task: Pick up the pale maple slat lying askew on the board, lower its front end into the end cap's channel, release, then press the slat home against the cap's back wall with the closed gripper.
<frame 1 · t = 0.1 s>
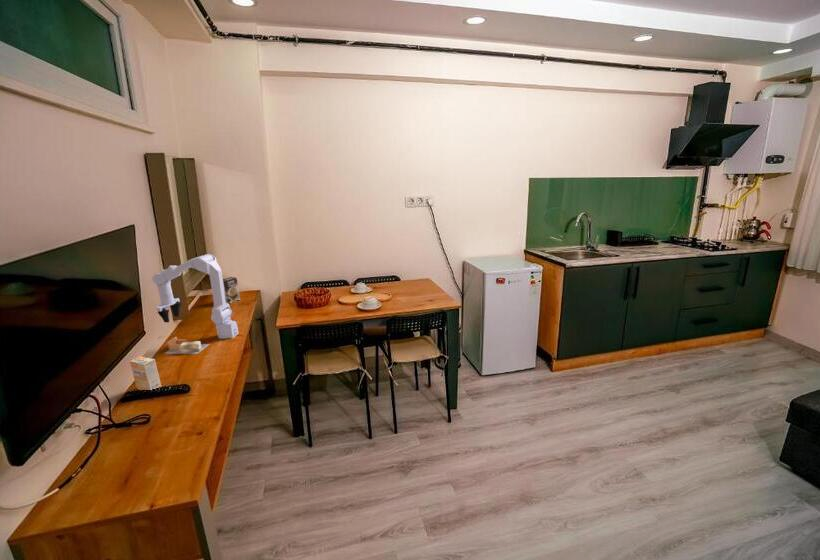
hand: (171, 319, 196), 10 cm above the table, fingers open, 7 cm apart
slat: (191, 350, 181), point 1 cm above the table, touching board
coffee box: (231, 302, 250), on the table
supplement box: (149, 389, 151), on the table
board: (187, 350, 183), on the table
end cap: (178, 347, 184), resting on board
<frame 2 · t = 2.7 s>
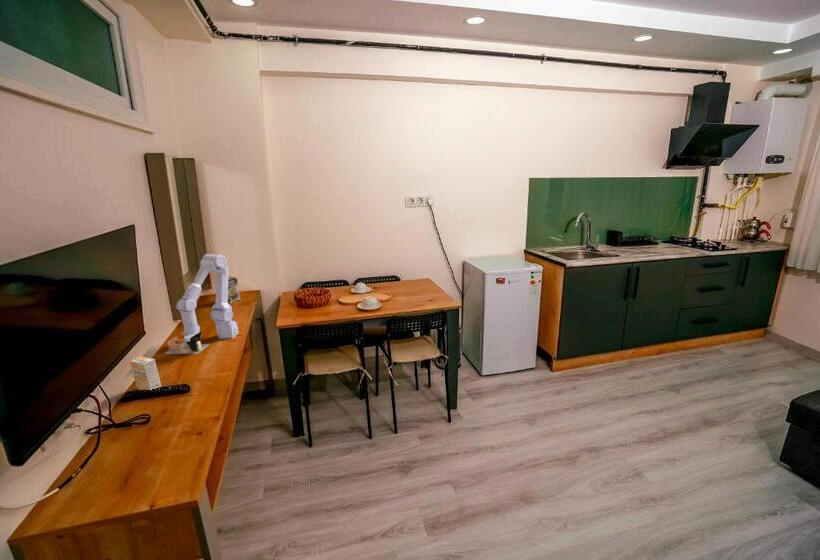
hand: (195, 348, 181), 2 cm above the table, fingers closed on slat, 3 cm apart
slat: (191, 350, 181), point 1 cm above the table, touching board, gripper
everything else where it was.
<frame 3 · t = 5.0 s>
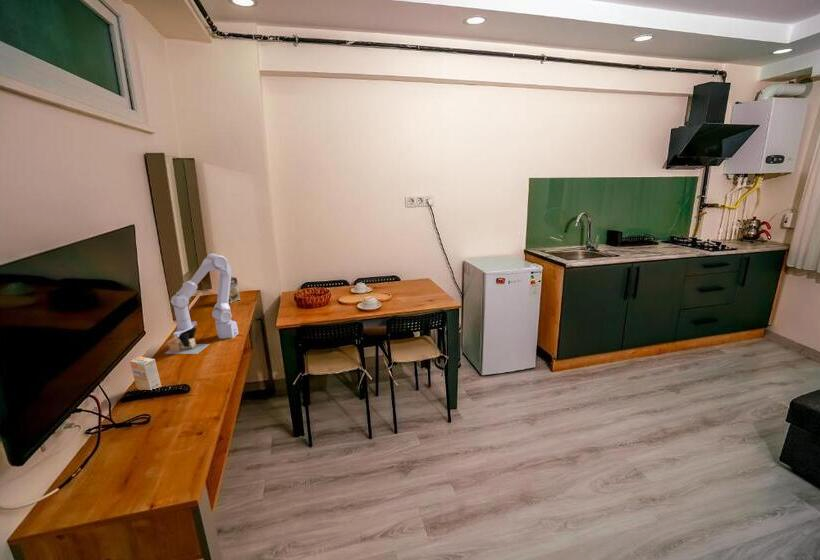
hand: (189, 344, 183), 3 cm above the table, fingers closed on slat, 3 cm apart
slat: (186, 347, 184), point 1 cm above the table, touching board, gripper
everything else where it was.
when the fingers open (2 cm above the table, at t = 5.9 s): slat stays where it is, resting on board.
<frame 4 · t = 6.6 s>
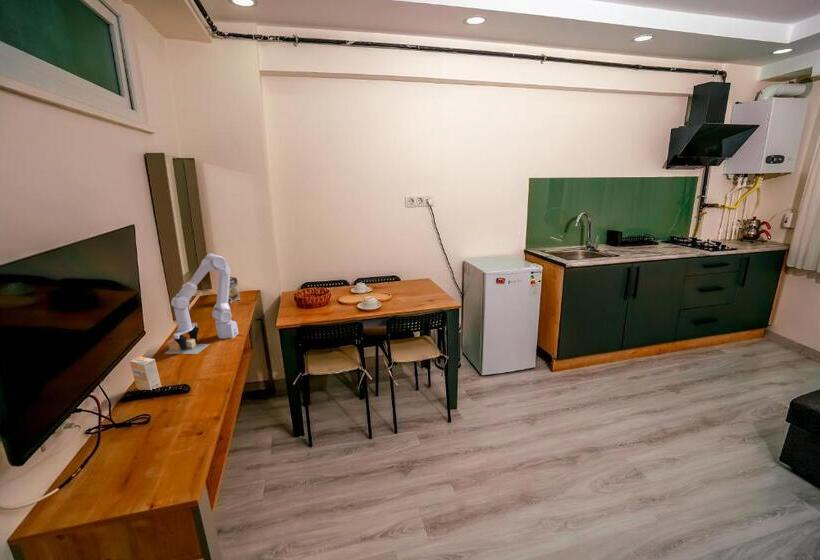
hand: (189, 345, 184), 2 cm above the table, fingers open, 7 cm apart
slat: (186, 347, 184), point 1 cm above the table, touching board
everything else where it was.
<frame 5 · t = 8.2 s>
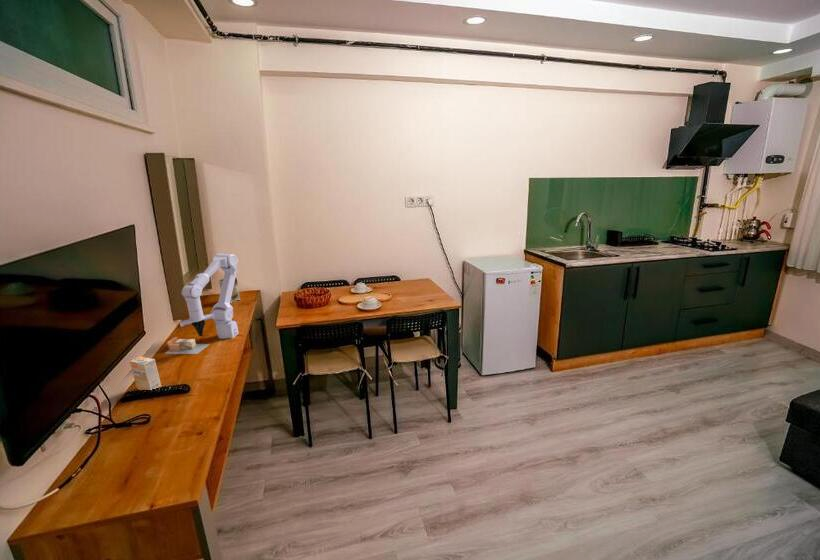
hand: (200, 335, 181), 7 cm above the table, fingers closed
nothing on the table moved.
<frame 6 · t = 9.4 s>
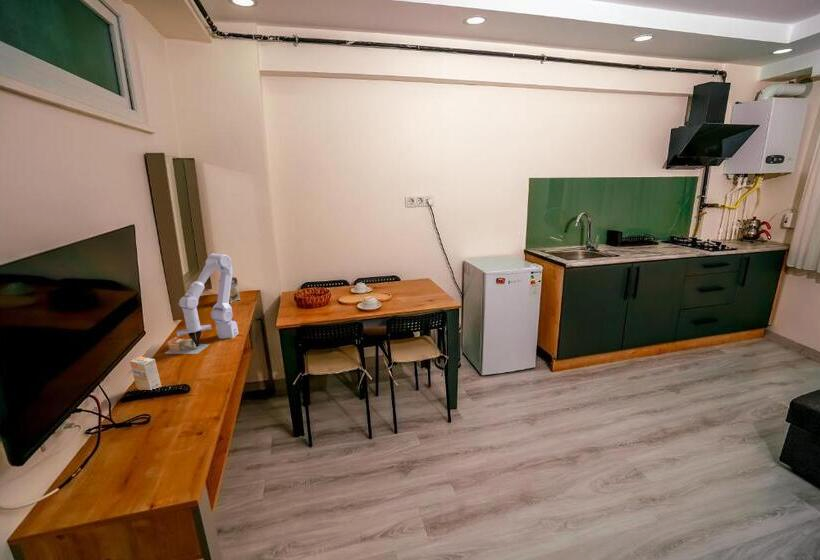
hand: (197, 345, 183), 2 cm above the table, fingers closed
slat: (186, 347, 184), point 1 cm above the table, touching board, gripper
everything else where it was.
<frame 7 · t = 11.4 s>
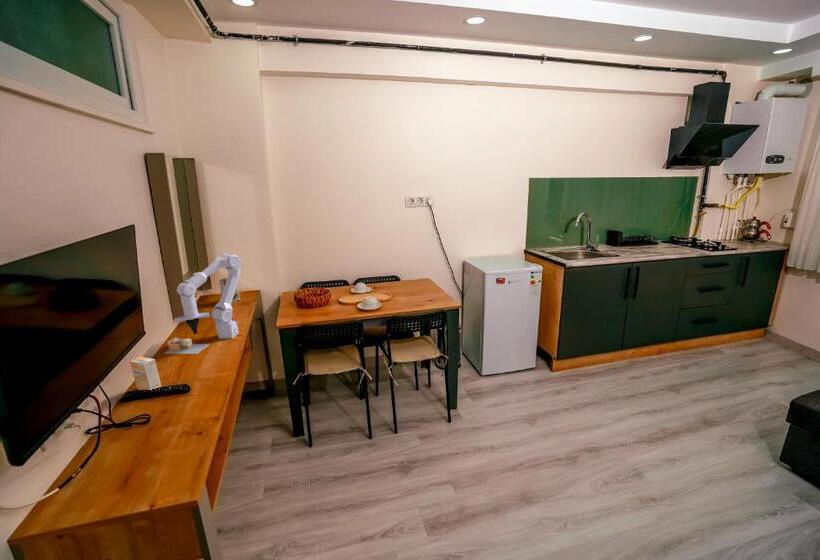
hand: (195, 333, 183), 8 cm above the table, fingers closed
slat: (183, 347, 185), point 1 cm above the table, touching board
everything else where it was.
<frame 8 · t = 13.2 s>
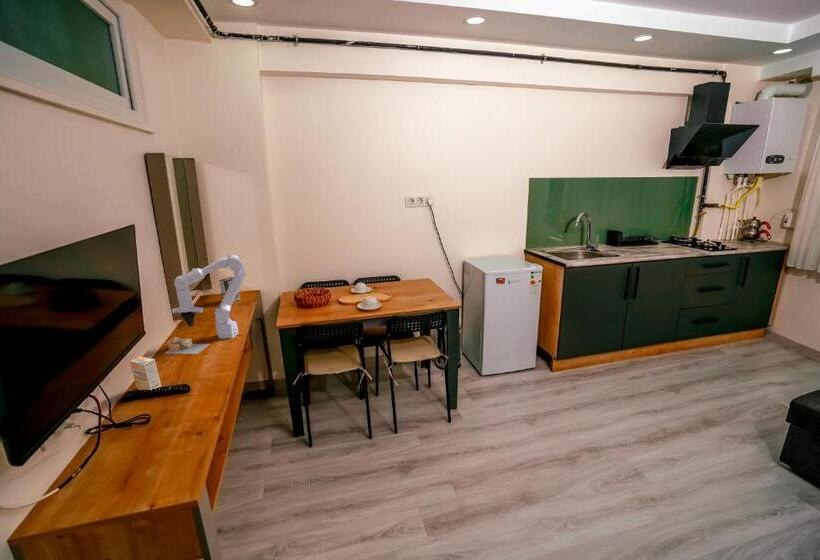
hand: (190, 325, 187), 10 cm above the table, fingers closed
nothing on the table moved.
at the end: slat 0.5 cm from the target spot on the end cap, point 0.0 cm above the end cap's base; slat tilted 0°; the gripper is holding nothing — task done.
